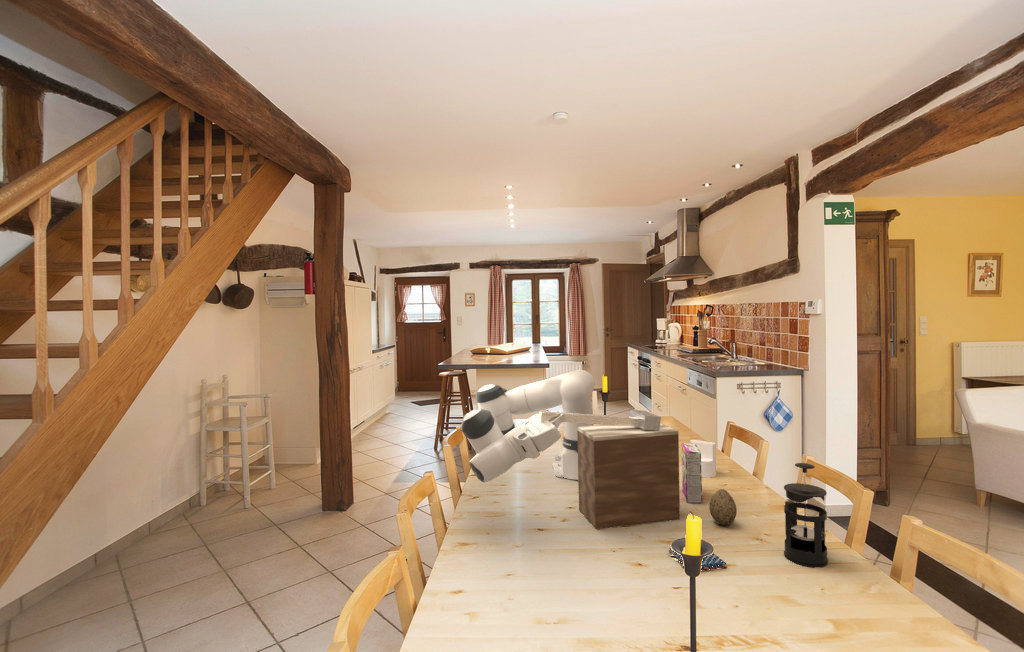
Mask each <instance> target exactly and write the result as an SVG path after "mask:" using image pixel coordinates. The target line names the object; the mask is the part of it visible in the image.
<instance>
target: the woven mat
mask: <svg viewBox="0 0 1024 652" xmlns="http://www.w3.org/2000/svg"><path fill="white" fill-rule="evenodd" d="M671 549H672V548H669V550H668V554H670V553H671V554H670V555H672V554H673V555H674V556H675V557H676V559H678V561H677V562H679V561H680V564H679V565H680V566H681V565H682V566H681V567H682V568H683V560H682V557H681V555H679V554H677V553H676V552H674V550H673V551H672V550H671ZM670 555H669V556H670ZM681 562H682V563H681ZM718 565H719V566H718ZM712 566H713V567H712ZM717 568H722V569H727V568H728V565H727V562H726V561H725V560H724V559H723V558H720V556H718V555H717V554H715V553H714V552H713V554H712V555H709V556H706V557H704V558H703V561H702V571H701V572H708V571H710V570H709V569H715V570H718V569H717Z"/></svg>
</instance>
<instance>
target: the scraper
mask: <svg viewBox="0 0 1024 652" xmlns="http://www.w3.org/2000/svg"><path fill="white" fill-rule="evenodd" d="M538 412H539V413H538V414H539V420H540V421H546V420H548V421H552V420H553V421H554V420H555V419H556V418H557V416H559V415H560V414H563V415H564V416H565V417H566V420H565V421H563V422H562V423H564V422H567V423H584V424H594V425H616V426H632V427H639V428H641V429H643V430H658V431H659V430H660V423H661V419H662V418H661V416H659V415H656V414H654V413H652V412H649V411H647V410H642V409H641V410H638V409H629V416H621V415H620V416H619V415H605V414H594V413H593V414H578V413H563V411H558V412H557V411H547V410H546V411H545V410H541V411H538Z"/></svg>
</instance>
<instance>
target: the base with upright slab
mask: <svg viewBox="0 0 1024 652" xmlns="http://www.w3.org/2000/svg"><path fill="white" fill-rule="evenodd" d="M689 443H693V444H696V445H697V447H698V449H699V450H700V452H701V476H702V477H703V479H708V478H707V477H712V478H715V477H717V445H716V442H710V441H705V440H699V439H690V441H689ZM714 476H715V477H714Z"/></svg>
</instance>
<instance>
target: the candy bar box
mask: <svg viewBox="0 0 1024 652" xmlns="http://www.w3.org/2000/svg"><path fill="white" fill-rule="evenodd" d="M680 447H681V453H680V454H681V474H682V475H681V482H682V486H681V487H682V492H683V495H684V498H685V500H686V501H685V502H686V503H687V504H703V486H702V484H703V483H702V482H703V479H702V476H701V452H700V450H699V449H698V447H697V445H696V444H693V443H690V442H689V443H688V442H686V443H685V442H682V443H681V444H680Z"/></svg>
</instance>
